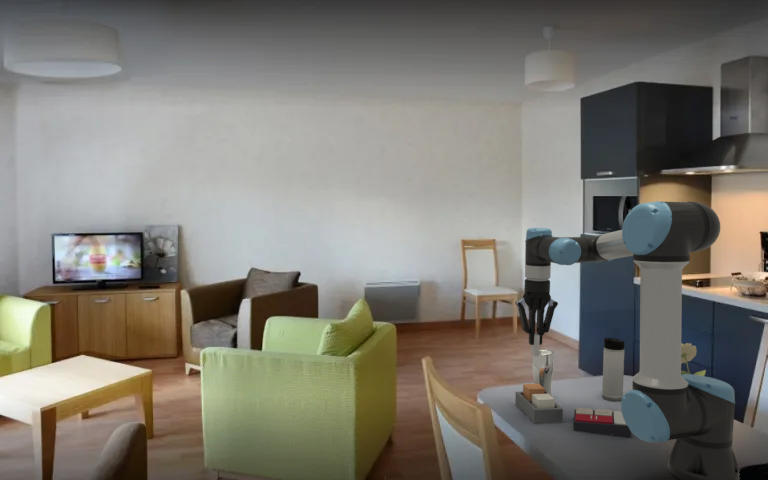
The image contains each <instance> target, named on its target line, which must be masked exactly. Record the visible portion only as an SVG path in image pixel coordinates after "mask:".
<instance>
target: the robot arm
mask: <svg viewBox="0 0 768 480" xmlns="http://www.w3.org/2000/svg"><path fill="white" fill-rule="evenodd" d="M552 232H553V231H552V229H551V228H547V227H531V228H528V229H527V230H526V234H525V235H526V237H525V240H524V241H525V249H524V250H525V251H524V252H525V255H524V256H525V258H524V260H525V261H524V262H525V263H524V264H525V265H524V277H525V279H524V286H523V287H524V288H523V289H524V293H523V295H522V298H520V300H516V301H515V305H516V308H517V309H518V312H519V317H520V323H521V328H522V331H523V332H525V333H526V334H528V344H529V345H530V346H531V347H530V349H531V350H530V354H531V355H532V357H533V356H539V350H540V345H543V336H544V335H545V334H546V333H549V331H550V328H551V324H552V320H553V316H554V313H555V309H556V308H557V307H558V305H559V303H558V301H555V300H554V299H552V296H551V295H550V291H551V280H550V278H551V269H552V268H551V266H552V263H553V264H556V265H558V266H559V265H560V266H571V265H572V266H573V265H574V264H581V263H607V262H611V261H613V260H615V259H621V258H627V257H632V256H633V257H632V258H633V263H634V264H636V265H637V267H638V268H639V270H640V275H639V276H640V277H639V279H640V282H639V283H640V285H639V286H640V287H639V290H640V291H639V293H640V294H639V298H640V299H639V303H640V304H639V371H638V372H637V373H636V374H635V375H634V376H632V389H631V390H628V391H626V392H625V394H624V395H623V397H622V400H621V401H620V409H621V410H620V411H621V412H622V415H623V418H624V421H625V423H626V425H627V426H628V427H629V429H630V430H631V434H633V435H634V436H635V437H636V438H638V439H639V440H641V441H643V442H646V443H658V442H659V443H665V442H667V441H672V440H675V441H674V444H673V445H672V447H671V451H670V453H669V455H668V457H667V470H668V472H669V473H670V474H671V475H673V476H674V477H675V478H677V479H678V480H740V477H739V476H740V475H741V474H740V473H739V472H740V468H739V465H738V463H737V459H736V456H735V452H734V449H733V439H734V438H733V437H734V421H735V420H734V419H735V405H736V401H735V389H734V387H733V386H732V385H731V384H729V383H728V382H725V381H723V380H720V379H717V378H714V377H710V376H705V375H704V376H700V375H694V374H692V373H690V374H683V375H681V371H682V364H681V344H682V314H683V312H682V311H683V309H682V308H683V307H682V301H683V298H682V296H683V293H682V292H683V269H684V268H685V267H686V266H687V265H688V264H690V263H691V259H690V258H691V256H690V255H691V253H696V252H700V251H704V250H706V249H708V248H710V247H711V246H713V245H714V243H715V242H717V239H718V238H719V235H720V233H721V221H720V218H719V216H718V215H717V213H716V212H715V211H714V209H713V208H711V207H710V206H708V205H706V204H704V203H701V202H697V201H658V200H655V201H649V202H642V203H639V204H637V205H636V206H634V207H632V209H631V210H630V212H628V214H627V215H626V216H625V219H624V220H623V223H622V228H621V229H620V230H615V231H612V232H605V233H603V234H598V235H593V236H567V237H565V236H562V237H559V236H553V234H552ZM525 306H527V308H528V317H527V312H526V309H525ZM546 306H547V309H545V308H546ZM545 310H546V312H545ZM544 313H545V314H544ZM544 315H545V316H544Z"/></svg>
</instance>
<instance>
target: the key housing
mask: <svg viewBox="0 0 768 480" xmlns="http://www.w3.org/2000/svg"><path fill="white" fill-rule="evenodd" d="M514 396H515V397H514V398H515V400H514V401H515V406H517V408H519V410H520V409H521V410H522V411H523V412H524V413H525V414H526V415H527V416H528V417H529V418H530V419H531V420H530V419H529V418H528V417H527V418H528V419H529V420H530V422H532V423H533V424H534V423H536V424H554V423H553V422H559V423H563V421H564V418H563V416H564V408H563V407H561V406H560V405H559V404H558V403H557V402H555V408H543V409H536V408H535V407H534V406H533V405H532V400H527V399H526V398H525V397H524V396H523V391H515V395H514ZM523 412H522V413H523ZM524 413H523V414H524ZM525 414H524V415H525ZM526 415H525V416H526Z"/></svg>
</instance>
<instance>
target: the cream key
mask: <svg viewBox="0 0 768 480" xmlns="http://www.w3.org/2000/svg"><path fill="white" fill-rule="evenodd" d="M555 403H556V402H555V397H553V395H552V396H550V395H549V394H532V405H533V406H534V407H535V408H536V409H543V408H555Z"/></svg>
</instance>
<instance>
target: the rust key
mask: <svg viewBox="0 0 768 480" xmlns="http://www.w3.org/2000/svg"><path fill="white" fill-rule="evenodd" d="M522 392H523V396H524V397H525V398H526V399H527V400H532V394H545V388H543V387H542V386H541V385H540V384H534V383H523V384H522Z"/></svg>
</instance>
